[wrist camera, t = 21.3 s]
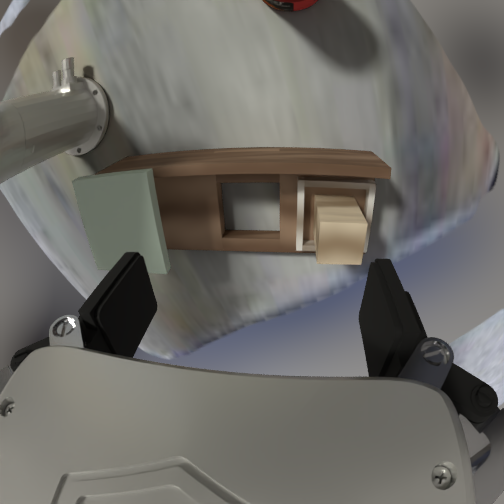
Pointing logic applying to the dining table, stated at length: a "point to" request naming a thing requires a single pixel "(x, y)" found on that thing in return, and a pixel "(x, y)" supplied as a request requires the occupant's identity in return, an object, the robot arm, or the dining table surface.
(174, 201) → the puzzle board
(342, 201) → the beech block
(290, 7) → the canned food
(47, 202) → the dining table surface
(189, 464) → the robot arm
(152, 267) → the sliding cover
